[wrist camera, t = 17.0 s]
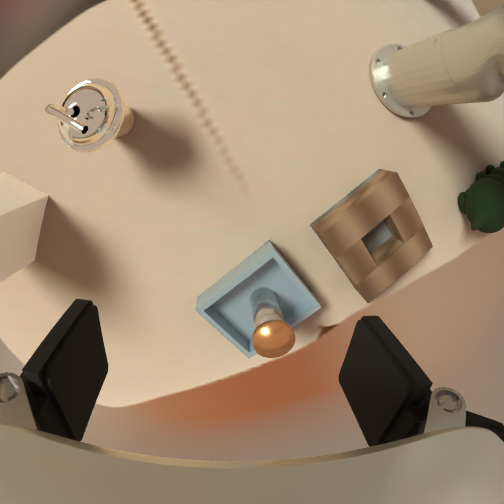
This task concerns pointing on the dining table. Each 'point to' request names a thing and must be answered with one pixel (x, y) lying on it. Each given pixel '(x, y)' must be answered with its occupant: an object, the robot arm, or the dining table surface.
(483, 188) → the toy figurine
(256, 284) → the tray
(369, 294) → the square wooden block
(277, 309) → the copper capped shaker
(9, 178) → the milk
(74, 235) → the dining table surface
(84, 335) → the robot arm
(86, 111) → the cup with straw
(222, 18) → the dining table surface
